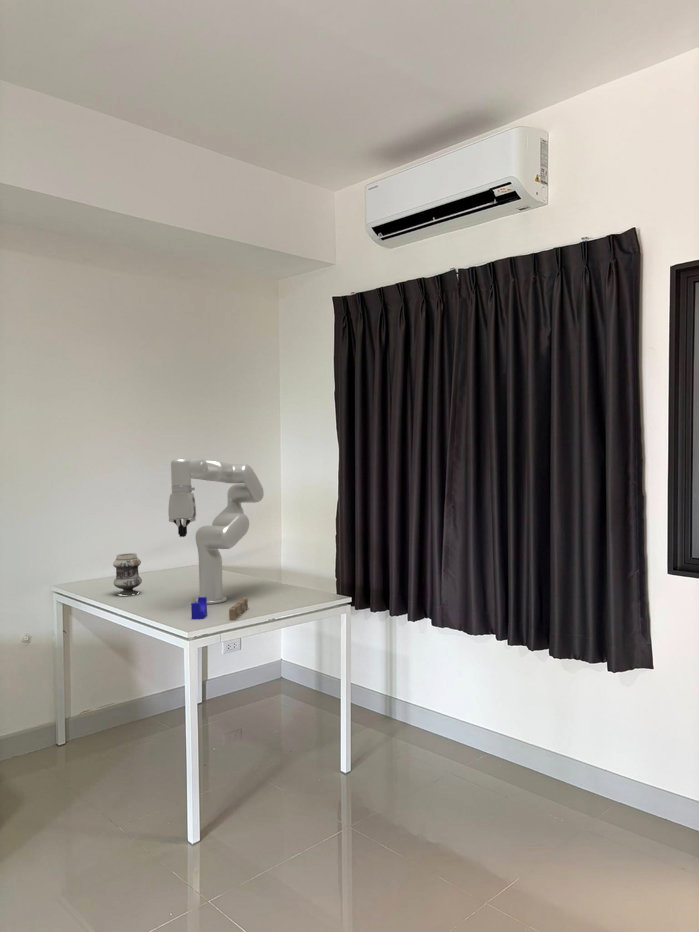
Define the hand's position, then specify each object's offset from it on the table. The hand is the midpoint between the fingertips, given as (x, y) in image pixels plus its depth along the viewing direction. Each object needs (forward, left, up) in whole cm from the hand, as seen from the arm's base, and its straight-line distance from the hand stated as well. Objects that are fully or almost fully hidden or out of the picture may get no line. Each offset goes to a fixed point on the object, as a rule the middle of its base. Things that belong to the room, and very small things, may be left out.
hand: (182, 536), depth 276 cm
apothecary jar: (-32, -37, -29) cm, 57 cm away
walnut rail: (+8, +24, -29) cm, 39 cm away
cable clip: (+10, +10, -30) cm, 33 cm away
